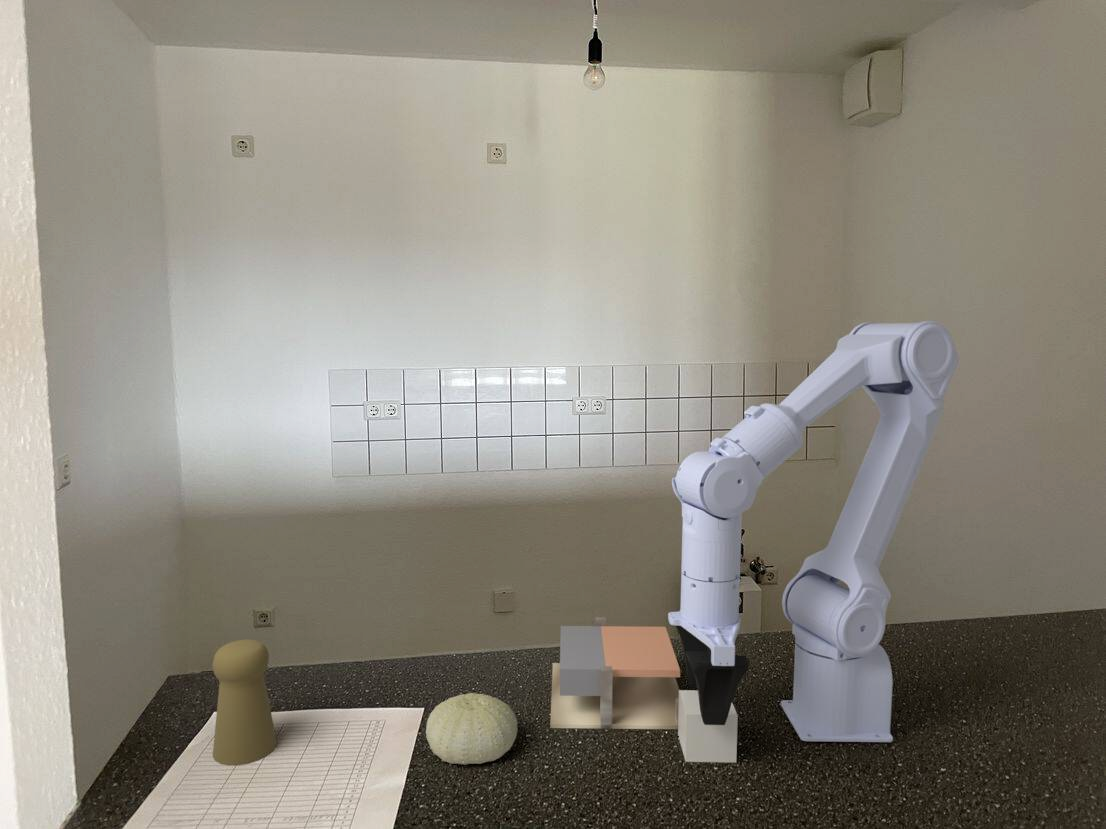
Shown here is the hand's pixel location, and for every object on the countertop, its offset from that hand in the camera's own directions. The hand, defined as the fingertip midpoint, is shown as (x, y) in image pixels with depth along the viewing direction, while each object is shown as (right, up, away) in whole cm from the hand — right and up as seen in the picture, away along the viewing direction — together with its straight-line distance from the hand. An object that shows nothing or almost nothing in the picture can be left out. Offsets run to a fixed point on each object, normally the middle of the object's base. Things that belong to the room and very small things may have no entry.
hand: (706, 703), depth 75 cm
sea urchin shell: (-24, -5, +1) cm, 24 cm away
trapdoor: (-8, -1, +11) cm, 14 cm away
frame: (-8, -4, +12) cm, 15 cm away
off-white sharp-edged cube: (0, -5, +1) cm, 5 cm away
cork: (-47, -5, 0) cm, 47 cm away
